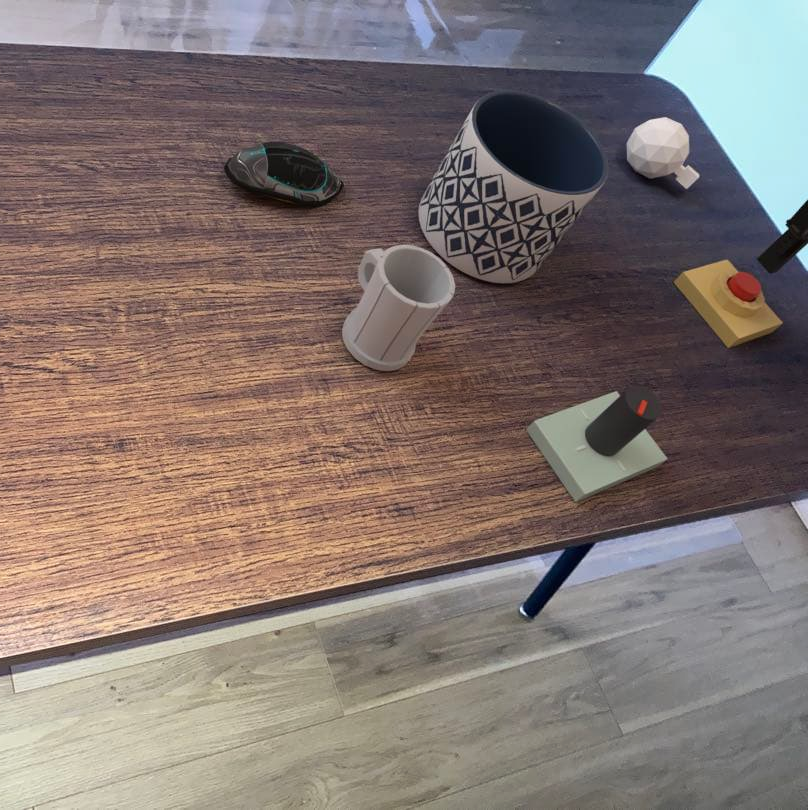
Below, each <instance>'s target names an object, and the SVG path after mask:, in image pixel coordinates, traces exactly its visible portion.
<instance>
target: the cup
mask: <svg viewBox="0 0 808 810" xmlns="http://www.w3.org/2000/svg"><path fill="white" fill-rule="evenodd" d="M357 277H358V284H359V285H360V286H361V288H362V290H363V295H362V296H361V299H360V300H359V303H358V304H357V306H356V308H354V309H352V311H351V312H350V313H349V314H348V315H347V316H346V318H345V320H344V321H343V326H342V328H341V335H342V341H343V343H344V346H345V347H346V349H347V351H348V352H349V353H350V355H352V357H353V358H354V359H355V360H356V361H358V362H359V363H361V364H362V365H364V366H365V367H368V368H370V369H373V370H376V371H381V372H382V371H383V372H391V371H396V370H397V371H398V370H399V369H401V368H403V367H405V366H406V365H407V364H408V362H409V361H410V360H411V358H412V357H413V355H414V354H415V352H416V348H417V343H418V342H419V340H420V339H421V337H422V336H423V335H424V333H425V332H426V330H427V329H428V328H429V327H430V326H431V325H432V323H433V322H434V321H435V320H436V318H437V317H438V316H439V315H440V314H441V312H443V310H444V309H445V308H446V307H447V305H448V304H449V303H450V302H451V301H452V299H453V297H454V296H455V291H456V283H455V279H454V275H453V273H452V271H451V270H450V269H449V267H448V265H446V263H445V262H444V261H443V260H442V259H441V258H440V257H438V256H437V255H435V254H434V253H432V252H431V251H430V250H428V249H425V248H422V247H420V246H416V245H411V244H400V245H393V246H391V247H389V248H387V249H385V250H383V249H382V248H381V247H379V248H372V249H369V250H366V251H365V252H364V254H363V257H362V259H361V262H360V264H359V267H358V268H357Z"/></svg>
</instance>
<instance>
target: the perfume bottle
mask: <svg viewBox="0 0 808 810" xmlns="http://www.w3.org/2000/svg"><path fill="white" fill-rule="evenodd" d="M689 154H690V135H689V134H688V131H686V129H685V127H684V126H683V124H682V123H680V122H677V121H676V120H674V119H672V118H669V117H667V116H665V117H658V118H652V119H649V120H647V121H645V122H642V123H641V124H640V125H638V126H636V127H635V128H634V129H633V130H632V133H631V135H630V137H629V138H628V139H627V142H626V160H627V162H628V164H629V165H630V167H631V168H632V169H633V171H634V172H636V173H638V174H640V175H642V176H643V177H645V178H648V179H655V178H660V177H661V178H662V177H666V176H669V175H671V174H673V173H674V174H675V175H676V176H675V181H676V182H678V183H679V184H680V185H681V186H682V187H683V188H685V189H686V190H688V189H689V188H690V187H691V186H692V185H693V184H694V183H695V182H697V180H698V179H699V178H700V173H698V172H697V171H696V170H695V169H694V168H693V167H692V166H690V165H689V164H688V165H686V166H684V165H683V164H684V163H685V161H686V159H687V158H688V156H689Z"/></svg>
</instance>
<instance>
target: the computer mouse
mask: <svg viewBox="0 0 808 810" xmlns="http://www.w3.org/2000/svg"><path fill="white" fill-rule="evenodd" d="M223 170H224V172H225V175H226V176H227V177H228V178H229V180H230V181H231V182H232V184H233V185H234V186H236V187H238V188H241V189H242V190H245V191H247V192H249V193H252V194H256V195H262V196H265V197H268V198H272V199H275V200H279V201H282V202H285V203H289V204H295V205H297V206H300V207H302V208H307V209H308V208H309V209H313V208H317V207H321V206H323V205H325V204H327V203H329V202H331V201H332V200H334V198H336V197H337V196H338V195H340V193H341V192H342V190H343V188H344V187H345V183H344V181H343V180H341V179H339V178H338V176H337V175H336V173H335V172H334V171H333V169H332V168H331V167H330V166H329V164H327V163H325V162H324V161H323V160H322V159H321V158H320V157H319V156H318V155H316V154H315V153H313V152H311V151H309V150H307V149H305V148H303V147H301V146H299V145H296V144H291V143H287V142H281V141H267V142H261V143H258V144H255V145H251V146H246V147H242V148H241V149H239V150H238V151H237V152H235V153H234V154H233V155H232V156H231V157H229V158H228V159H227V160H226V162H225V164H224V165H223Z"/></svg>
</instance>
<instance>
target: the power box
mask: <svg viewBox="0 0 808 810" xmlns="http://www.w3.org/2000/svg"><path fill="white" fill-rule="evenodd" d="M738 272H739V271H738V270H737V268H735V266H734V265H733V264H732V263H731V261H729V259H724V260H723V259H722V260H719V261H717V262H713V263H709V264H706V265H703V266H699V267H696V268H691V269H688V270H686V271H682V273H680V275H678V277H676V279H675V280H674V281H673V284H674V285H675V286H676V287H677V289H678V290H679V291H680V292H681V293H682V294H683V296H684V297H685V298H686V299H687V301H688V302H689V303H690V304H691V306H692V307H693V308H694V309H695V310H696V312H697V313H698V314H699V315H700V316H701V318H702V319H703V320H704V321H705V322H706V324H707V325H708V327H710V328H711V329H712V331H713V332H714V333H715V334H716V335H717V337H718V338H719V339H720V340H721V342H722V343H723V344H724V345H725V346H726V348H727V349H730V348H733V347H736V346H738V345H741V344H744V343H746V342H749V341H753V340H755V339H758V338H761V337H763V336H766V335H768V334H772V333H774V332H775V331H776V330H777V329H778V328H779V327H780V326H782V325H783V324H784V322H783V321H782V320H781V319H780V318H779V317H778V315H777V314H776V313H775V312H774V311H773V310H772V309H771V307H769V305H768V304H767V303H766V299H765V296H764V293H763V290H761V293H760V294H758V295H757V296H756V297H755V298H754V299H753V300H752V301H750V302H745V301H742V300H740V299H739V298H737V297H735V296H734V295H733V294H732V292H731V291H730V290H729V288H728V285H727V284H728V281H729V280H730V279H731V278H732V277H734V276H735V275H736V274H737V273H738Z"/></svg>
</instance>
